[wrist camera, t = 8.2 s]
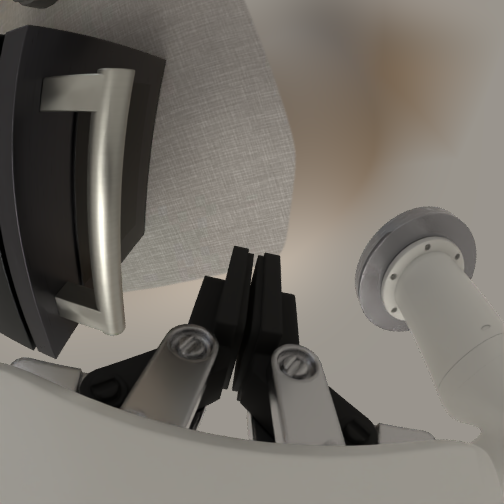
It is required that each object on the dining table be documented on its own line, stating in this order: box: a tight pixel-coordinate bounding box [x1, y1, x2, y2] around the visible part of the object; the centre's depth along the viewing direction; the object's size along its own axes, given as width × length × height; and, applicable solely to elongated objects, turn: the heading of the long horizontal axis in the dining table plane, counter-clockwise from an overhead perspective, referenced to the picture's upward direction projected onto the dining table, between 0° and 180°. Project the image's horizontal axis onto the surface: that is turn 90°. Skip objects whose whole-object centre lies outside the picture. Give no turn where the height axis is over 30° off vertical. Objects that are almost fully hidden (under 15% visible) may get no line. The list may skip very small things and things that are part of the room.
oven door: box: [0, 25, 166, 359], centre depth 17 cm, size 6×18×18 cm, turn 168°
